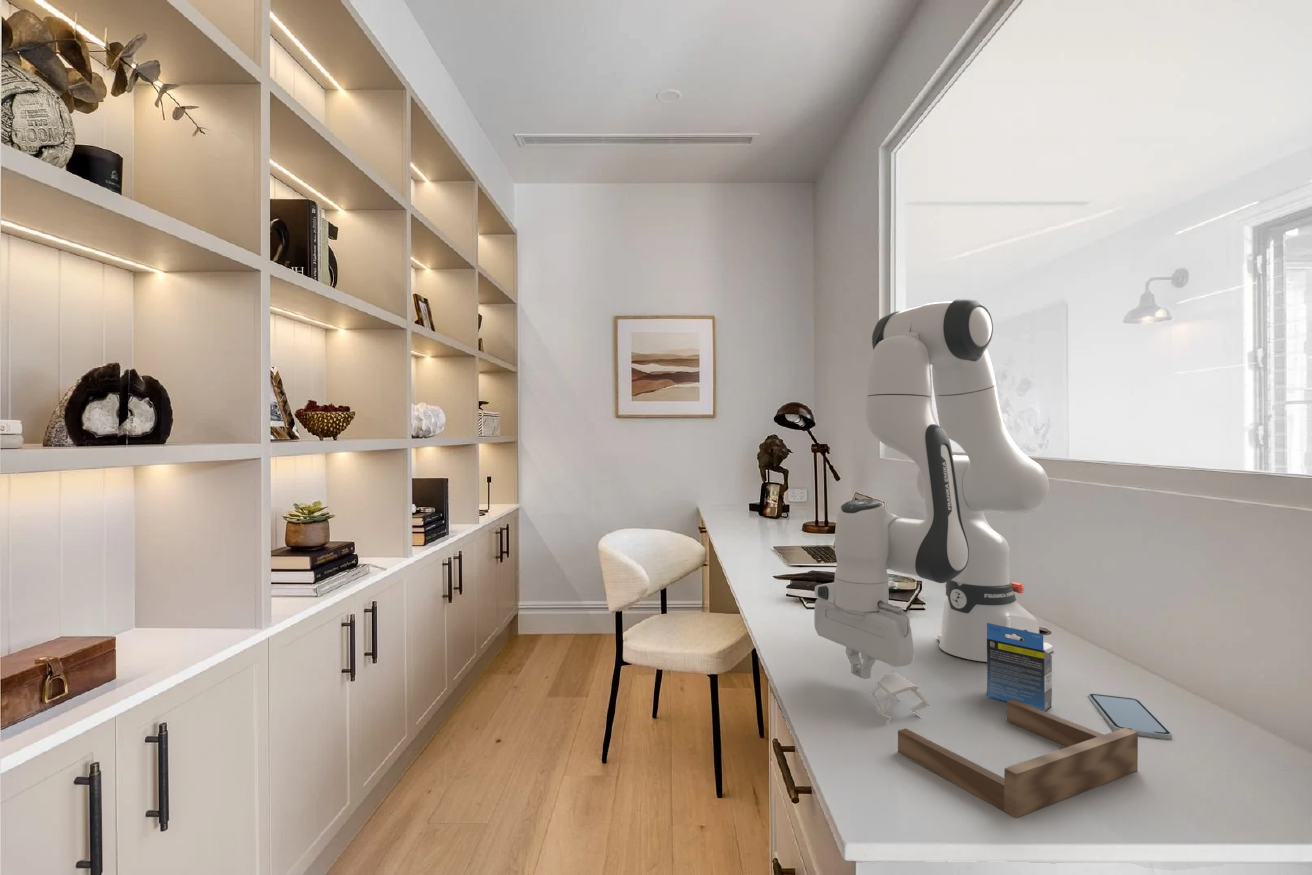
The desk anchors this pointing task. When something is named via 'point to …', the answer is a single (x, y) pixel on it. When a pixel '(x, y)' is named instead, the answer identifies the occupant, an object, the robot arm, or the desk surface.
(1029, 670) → the label tape cartridge
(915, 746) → the walnut bay
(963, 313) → the robot arm
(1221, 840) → the desk surface
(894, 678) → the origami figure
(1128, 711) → the smartphone
